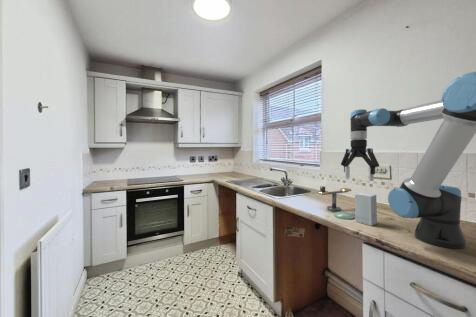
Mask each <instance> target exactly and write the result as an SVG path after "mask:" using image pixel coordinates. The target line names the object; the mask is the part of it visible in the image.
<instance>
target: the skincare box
mask: <svg viewBox="0 0 476 317" xmlns="http://www.w3.org/2000/svg"><path fill="white" fill-rule="evenodd" d="M377 206H378V205H377V194H374V193H373V194H372V193H365V192H358V193H355V194H354V211H355V216H354V219H355V222H356V223H360V224H364V225H367V226H370V227H372V226H375V225H377V224H378V215H377V214H378V211H377V209H378V208H377Z"/></svg>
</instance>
